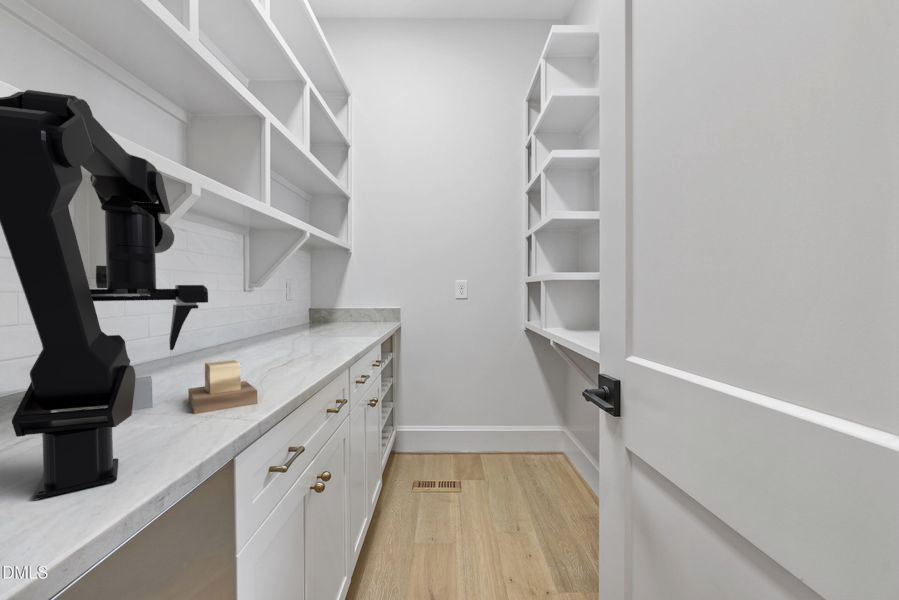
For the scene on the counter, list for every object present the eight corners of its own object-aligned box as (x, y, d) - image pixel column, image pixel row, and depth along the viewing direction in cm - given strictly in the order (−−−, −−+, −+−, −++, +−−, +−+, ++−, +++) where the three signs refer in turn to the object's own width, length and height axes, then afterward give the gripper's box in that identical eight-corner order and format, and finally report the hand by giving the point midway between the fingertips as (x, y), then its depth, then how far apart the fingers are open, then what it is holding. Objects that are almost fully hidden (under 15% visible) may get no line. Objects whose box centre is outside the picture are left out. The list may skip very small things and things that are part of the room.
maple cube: (240, 389, 75) (240, 363, 75) (210, 394, 72) (210, 366, 72) (234, 385, 79) (234, 359, 79) (204, 389, 76) (204, 362, 76)
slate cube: (152, 408, 73) (152, 380, 72) (117, 413, 70) (116, 384, 69) (151, 402, 77) (151, 376, 76) (117, 406, 73) (117, 379, 73)
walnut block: (257, 406, 75) (257, 390, 75) (194, 417, 69) (194, 399, 69) (246, 395, 83) (245, 380, 83) (188, 404, 77) (188, 388, 76)
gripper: (198, 254, 71) (200, 341, 72) (51, 248, 59) (54, 352, 60) (207, 249, 62) (209, 349, 63) (37, 241, 51) (41, 363, 51)
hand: (133, 352), depth 59 cm, fingers open, 9 cm apart
